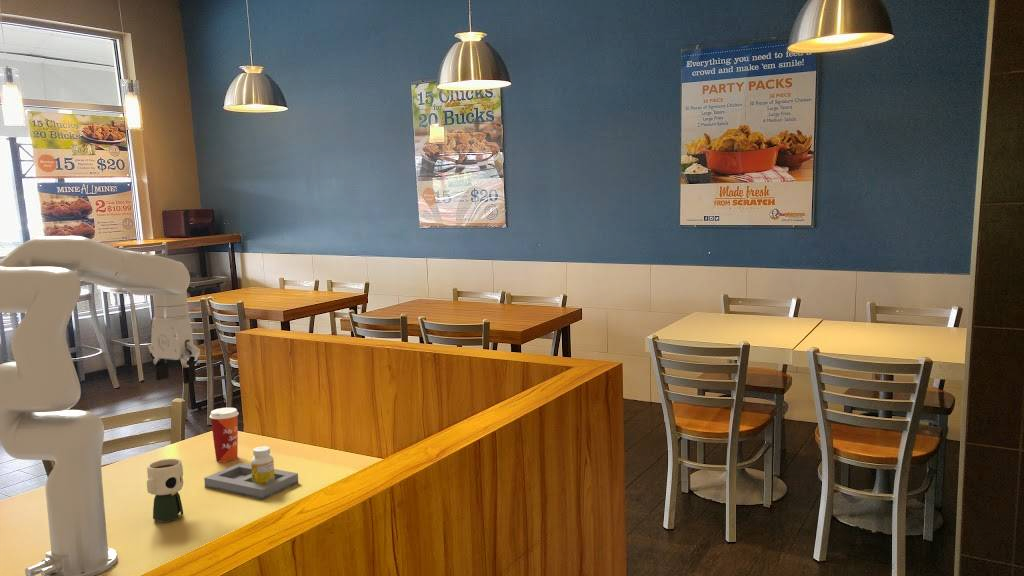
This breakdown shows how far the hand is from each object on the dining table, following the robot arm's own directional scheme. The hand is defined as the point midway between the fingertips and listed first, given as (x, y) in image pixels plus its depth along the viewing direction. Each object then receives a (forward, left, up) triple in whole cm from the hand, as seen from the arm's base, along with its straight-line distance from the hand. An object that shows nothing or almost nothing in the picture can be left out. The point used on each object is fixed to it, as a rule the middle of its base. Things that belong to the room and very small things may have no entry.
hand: (176, 380), depth 179 cm
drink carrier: (+10, -13, -28) cm, 33 cm away
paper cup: (+22, +9, -28) cm, 37 cm away
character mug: (-13, -11, -28) cm, 33 cm away
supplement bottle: (+10, -17, -28) cm, 34 cm away
